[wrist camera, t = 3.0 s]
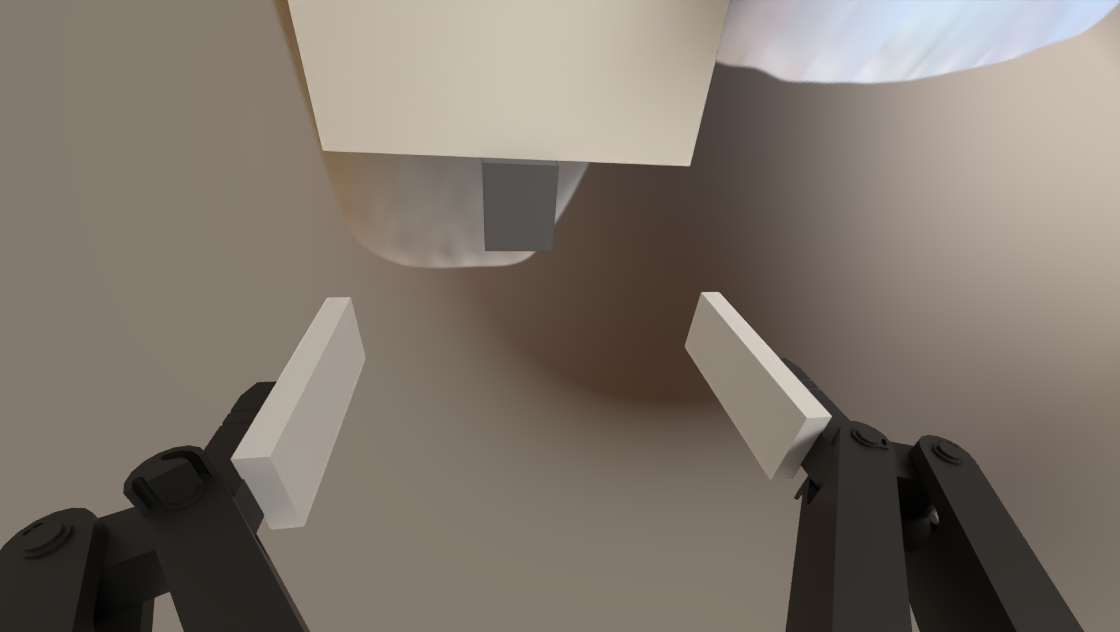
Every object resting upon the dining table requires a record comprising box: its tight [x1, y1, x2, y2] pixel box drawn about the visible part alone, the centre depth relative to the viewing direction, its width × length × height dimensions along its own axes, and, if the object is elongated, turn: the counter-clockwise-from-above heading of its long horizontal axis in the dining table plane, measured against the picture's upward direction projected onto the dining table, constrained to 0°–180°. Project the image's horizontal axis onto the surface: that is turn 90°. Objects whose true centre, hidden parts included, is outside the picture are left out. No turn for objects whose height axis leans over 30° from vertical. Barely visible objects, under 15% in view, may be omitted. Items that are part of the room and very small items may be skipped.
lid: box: [288, 0, 730, 251], centre depth 19 cm, size 24×20×3 cm
